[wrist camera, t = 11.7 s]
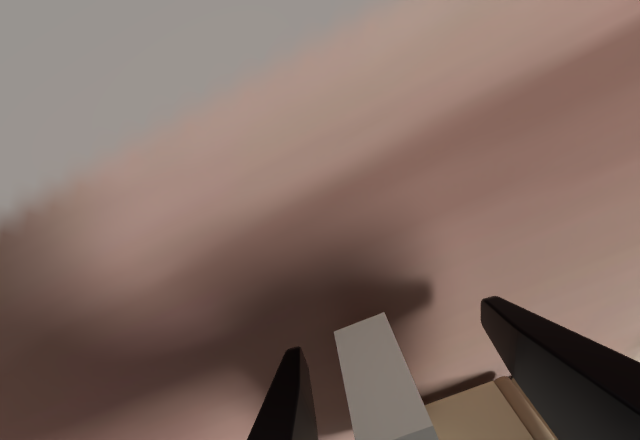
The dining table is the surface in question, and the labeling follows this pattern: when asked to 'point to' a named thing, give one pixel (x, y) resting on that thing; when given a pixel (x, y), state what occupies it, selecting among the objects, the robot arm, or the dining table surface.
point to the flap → (405, 401)
